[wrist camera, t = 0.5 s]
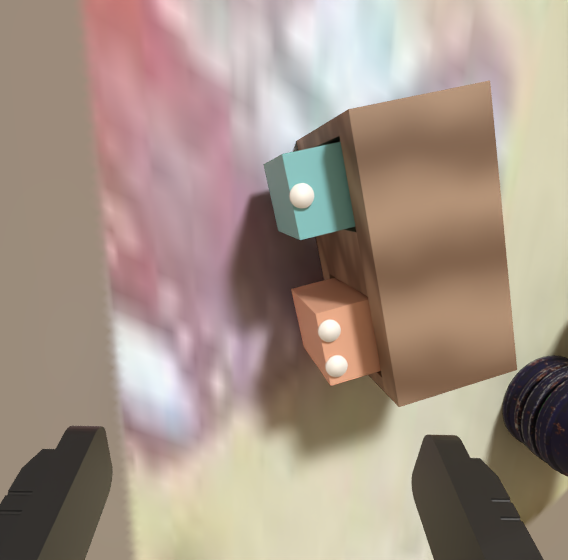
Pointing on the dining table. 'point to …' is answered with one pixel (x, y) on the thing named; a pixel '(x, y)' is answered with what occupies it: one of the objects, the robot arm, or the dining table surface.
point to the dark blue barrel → (540, 410)
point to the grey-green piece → (310, 191)
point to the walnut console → (425, 238)
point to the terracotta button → (337, 329)
